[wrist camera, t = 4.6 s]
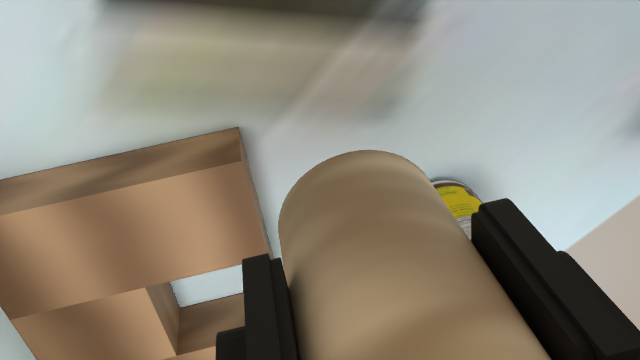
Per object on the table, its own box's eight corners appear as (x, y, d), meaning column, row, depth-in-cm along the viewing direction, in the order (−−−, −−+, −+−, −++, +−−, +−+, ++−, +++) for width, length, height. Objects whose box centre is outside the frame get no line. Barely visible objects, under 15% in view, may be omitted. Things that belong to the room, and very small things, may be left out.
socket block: (238, 127, 28) (241, 160, 25) (297, 345, 38) (305, 391, 34) (-20, 184, 27) (-53, 227, 24) (106, 393, 37) (95, 446, 33)
